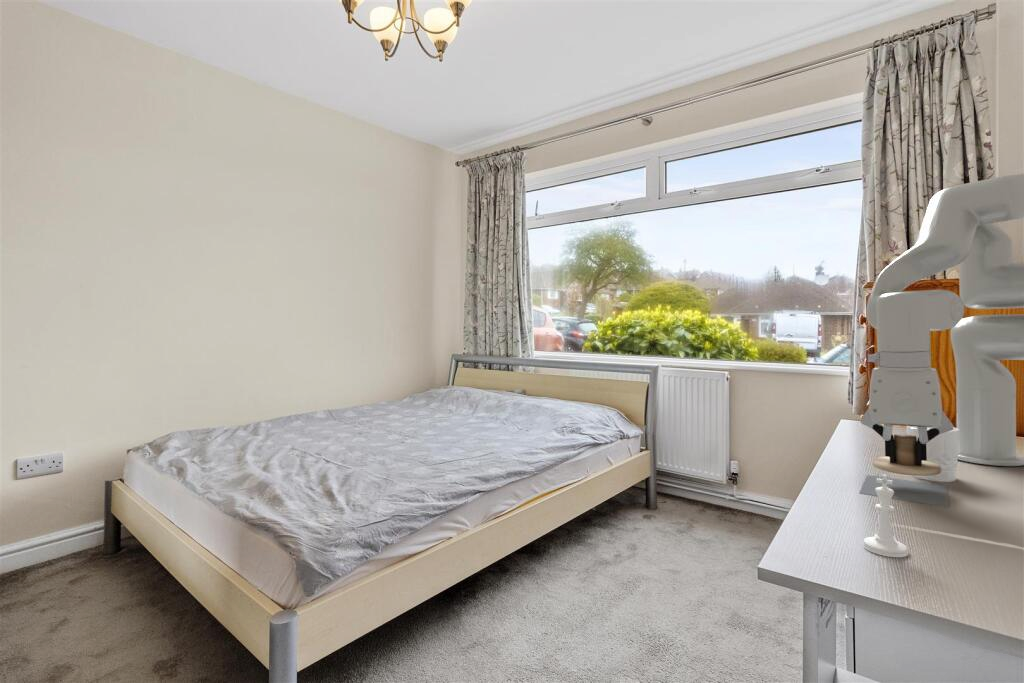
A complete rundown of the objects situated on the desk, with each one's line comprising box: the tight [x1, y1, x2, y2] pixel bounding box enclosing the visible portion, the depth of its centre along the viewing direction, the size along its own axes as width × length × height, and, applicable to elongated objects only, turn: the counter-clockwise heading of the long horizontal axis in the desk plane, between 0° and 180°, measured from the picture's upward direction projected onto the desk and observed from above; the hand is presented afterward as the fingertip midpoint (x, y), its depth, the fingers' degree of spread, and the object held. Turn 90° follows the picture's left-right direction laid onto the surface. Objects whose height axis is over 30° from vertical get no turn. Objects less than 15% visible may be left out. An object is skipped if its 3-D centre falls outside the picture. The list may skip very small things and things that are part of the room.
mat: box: [858, 474, 950, 508], centre depth 91 cm, size 14×12×1 cm
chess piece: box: [862, 473, 909, 558], centre depth 67 cm, size 5×5×10 cm
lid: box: [872, 433, 941, 477], centre depth 91 cm, size 10×10×6 cm
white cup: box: [906, 425, 959, 483], centre depth 98 cm, size 8×8×10 cm
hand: (905, 461), depth 91 cm, fingers closed on lid, 3 cm apart
